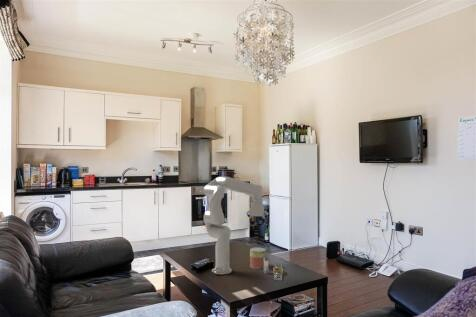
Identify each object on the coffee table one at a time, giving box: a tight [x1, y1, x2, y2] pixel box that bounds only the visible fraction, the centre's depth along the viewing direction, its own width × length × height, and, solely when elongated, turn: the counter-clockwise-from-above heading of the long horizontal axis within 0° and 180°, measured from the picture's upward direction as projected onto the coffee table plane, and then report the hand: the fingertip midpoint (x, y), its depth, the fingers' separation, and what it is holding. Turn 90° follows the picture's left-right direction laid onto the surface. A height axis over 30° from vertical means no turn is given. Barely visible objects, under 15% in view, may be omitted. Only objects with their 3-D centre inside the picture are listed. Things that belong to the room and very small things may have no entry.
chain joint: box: [272, 263, 284, 281], centre depth 217 cm, size 27×7×2 cm, turn 172°
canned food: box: [249, 247, 267, 270], centre depth 232 cm, size 11×11×12 cm
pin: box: [263, 257, 270, 275], centre depth 218 cm, size 4×4×10 cm
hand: (257, 223), depth 249 cm, fingers open, 9 cm apart
